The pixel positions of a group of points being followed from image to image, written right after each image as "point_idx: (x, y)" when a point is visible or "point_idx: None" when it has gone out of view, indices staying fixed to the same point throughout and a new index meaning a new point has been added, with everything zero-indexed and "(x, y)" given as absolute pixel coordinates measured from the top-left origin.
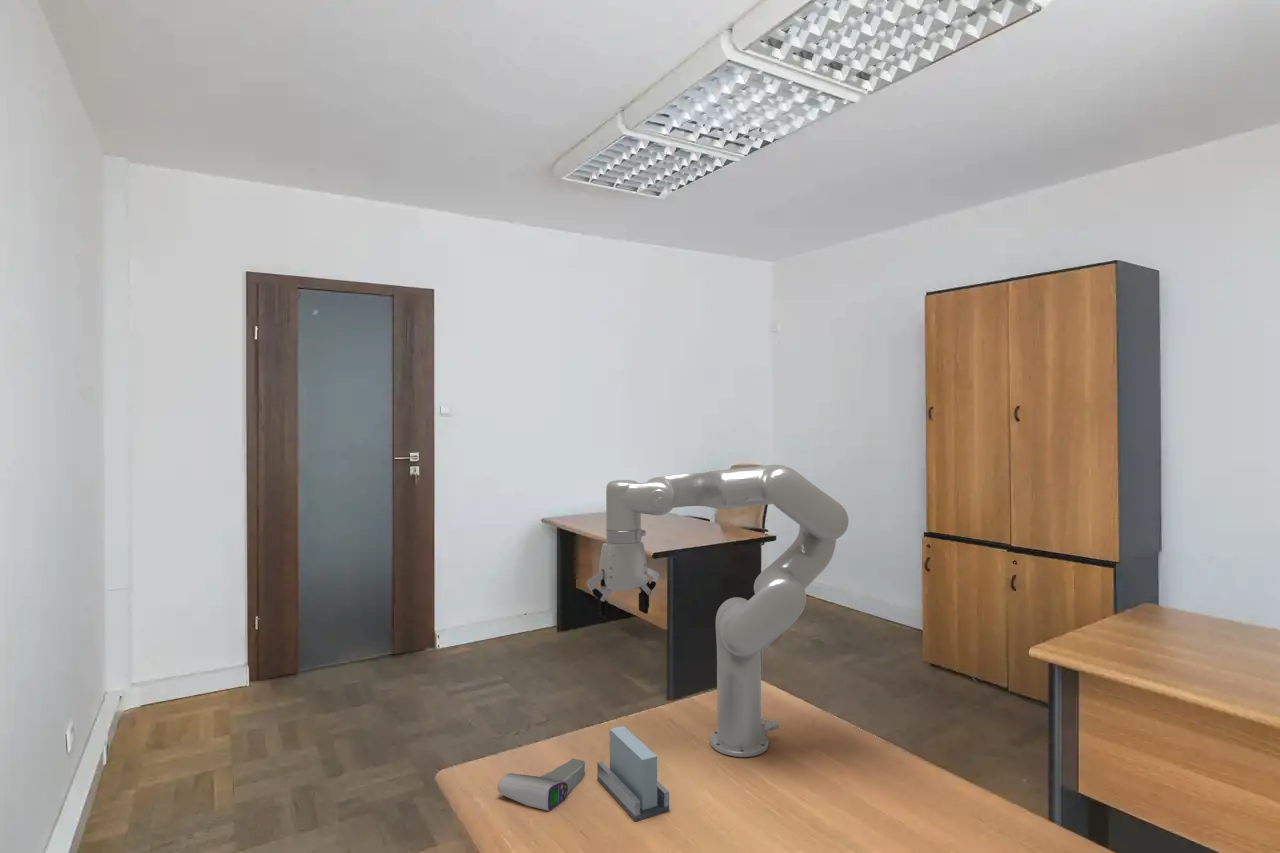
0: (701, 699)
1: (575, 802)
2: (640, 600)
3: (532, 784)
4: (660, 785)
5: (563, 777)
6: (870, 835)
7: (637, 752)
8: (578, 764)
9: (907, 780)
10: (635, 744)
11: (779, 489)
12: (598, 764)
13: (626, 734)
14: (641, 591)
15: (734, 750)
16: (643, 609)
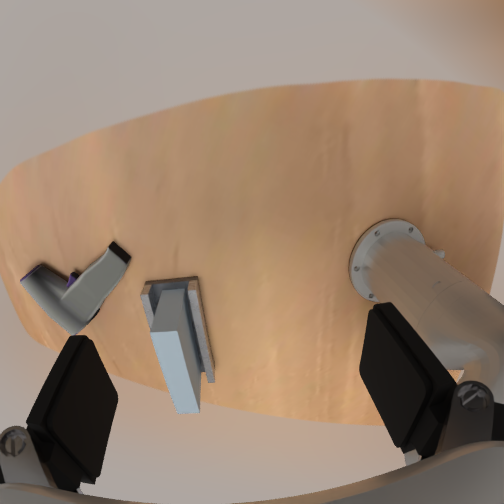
0: (427, 90)
1: (110, 317)
2: (397, 375)
3: (53, 319)
4: (209, 370)
5: (90, 310)
6: (356, 419)
7: (176, 400)
8: (115, 274)
9: None
10: (179, 384)
11: None
12: (141, 298)
13: (174, 357)
14: (434, 427)
15: (363, 292)
16: (368, 370)
